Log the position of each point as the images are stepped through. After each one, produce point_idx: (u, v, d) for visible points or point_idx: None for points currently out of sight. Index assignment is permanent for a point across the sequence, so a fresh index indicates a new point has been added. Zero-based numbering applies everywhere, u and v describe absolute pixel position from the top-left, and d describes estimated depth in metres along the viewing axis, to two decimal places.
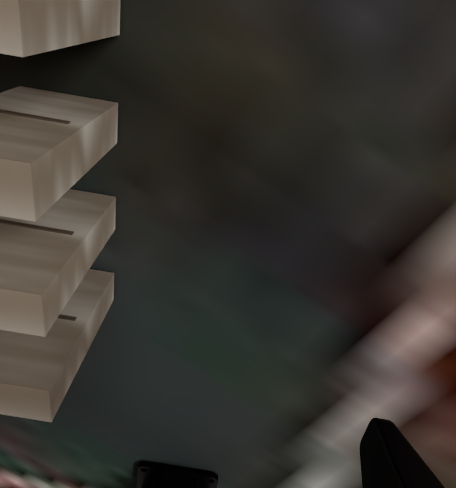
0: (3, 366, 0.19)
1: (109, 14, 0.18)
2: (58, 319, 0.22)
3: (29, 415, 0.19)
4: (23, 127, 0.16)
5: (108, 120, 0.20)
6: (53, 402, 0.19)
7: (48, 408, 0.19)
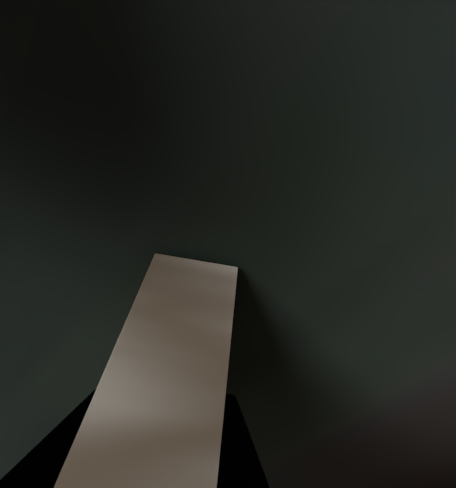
0: None
1: None
2: None
3: None
4: None
5: None
6: None
7: None
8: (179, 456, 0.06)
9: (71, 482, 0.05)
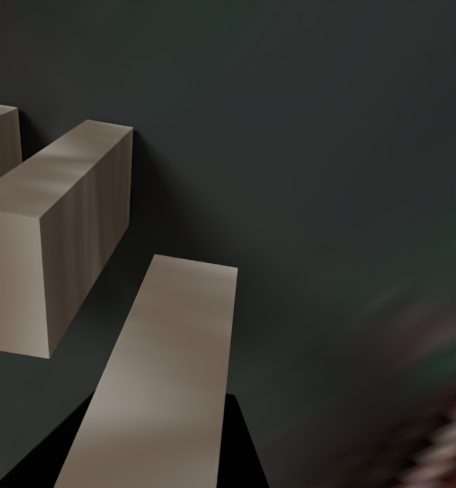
0: None
1: None
2: None
3: (33, 250, 0.11)
4: None
5: None
6: (8, 206, 0.11)
7: (4, 215, 0.11)
8: (179, 458, 0.06)
9: (70, 485, 0.05)
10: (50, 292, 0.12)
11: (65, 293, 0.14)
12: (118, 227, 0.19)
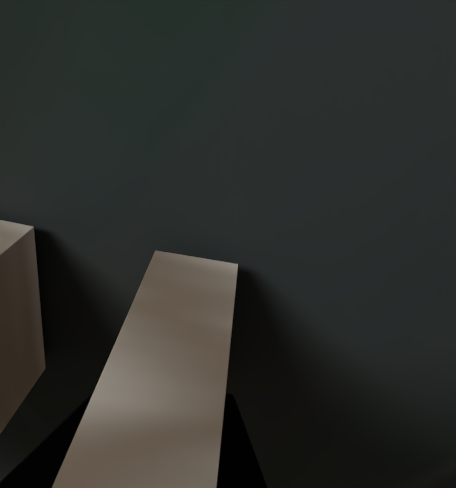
0: None
1: None
2: None
3: None
4: None
5: None
6: None
7: None
8: (179, 449, 0.06)
9: (72, 476, 0.05)
10: None
11: None
12: (7, 396, 0.11)
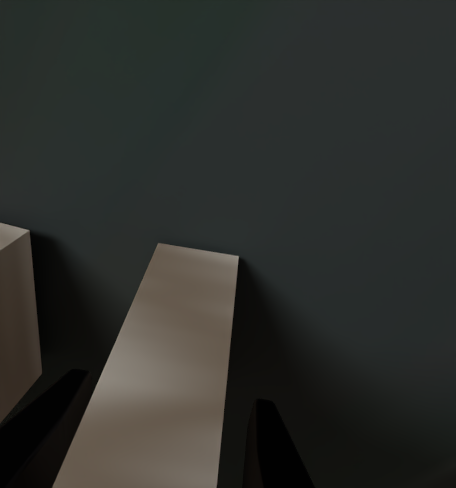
0: None
1: None
2: None
3: None
4: None
5: None
6: None
7: None
8: (183, 428, 0.06)
9: (82, 451, 0.06)
10: None
11: None
12: None
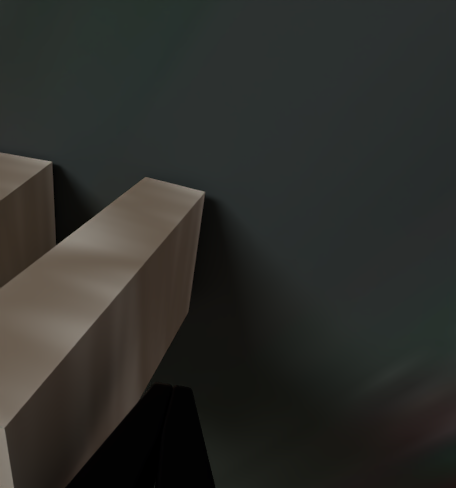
0: None
1: None
2: None
3: None
4: None
5: None
6: None
7: None
8: (111, 267, 0.09)
9: (40, 265, 0.09)
10: None
11: None
12: None
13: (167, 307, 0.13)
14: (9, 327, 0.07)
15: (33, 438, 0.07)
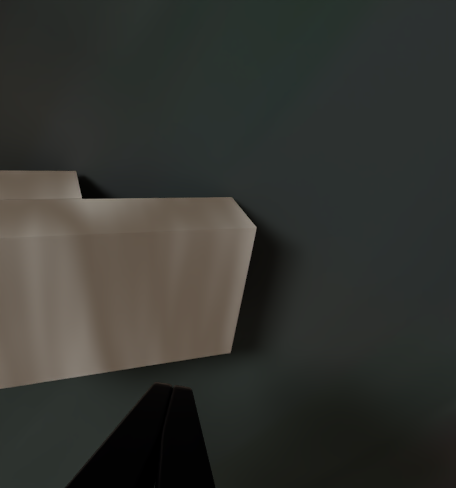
0: None
1: None
2: None
3: None
4: None
5: None
6: None
7: None
8: (65, 224, 0.11)
9: (39, 202, 0.11)
10: None
11: None
12: None
13: (160, 312, 0.13)
14: None
15: None
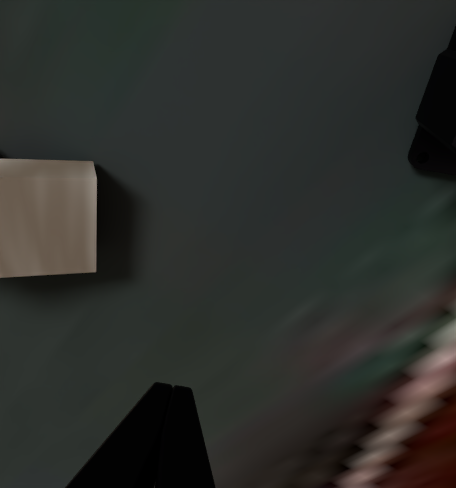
0: None
1: None
2: None
3: None
4: None
5: None
6: None
7: None
8: None
9: None
10: None
11: None
12: None
13: (35, 236, 0.19)
14: None
15: None
